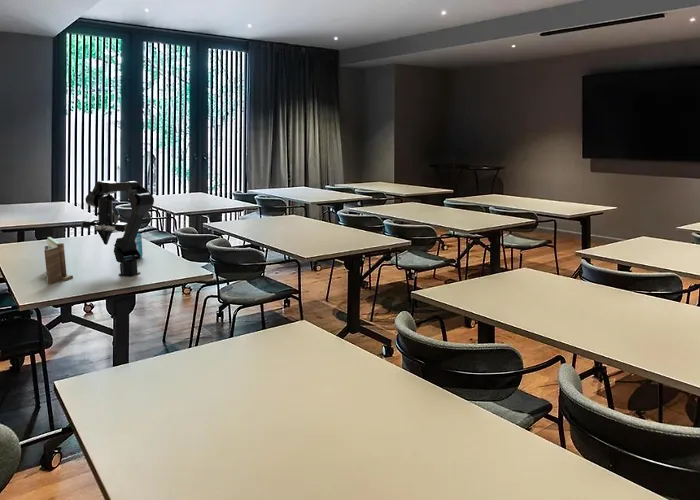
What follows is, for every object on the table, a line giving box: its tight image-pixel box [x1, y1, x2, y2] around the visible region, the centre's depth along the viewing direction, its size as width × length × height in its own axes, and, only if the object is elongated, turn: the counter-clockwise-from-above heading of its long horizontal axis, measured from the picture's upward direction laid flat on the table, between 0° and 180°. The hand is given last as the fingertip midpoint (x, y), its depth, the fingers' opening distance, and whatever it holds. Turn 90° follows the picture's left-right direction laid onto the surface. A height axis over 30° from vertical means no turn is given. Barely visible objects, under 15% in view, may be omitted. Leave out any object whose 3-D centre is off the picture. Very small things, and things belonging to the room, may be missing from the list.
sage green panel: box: [44, 236, 60, 250], centre depth 245 cm, size 3×22×13 cm, turn 38°
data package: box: [126, 233, 144, 259], centre depth 275 cm, size 12×4×12 cm, turn 176°
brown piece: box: [44, 242, 74, 285], centre depth 233 cm, size 5×11×15 cm, turn 169°
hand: (105, 244), depth 252 cm, fingers closed
